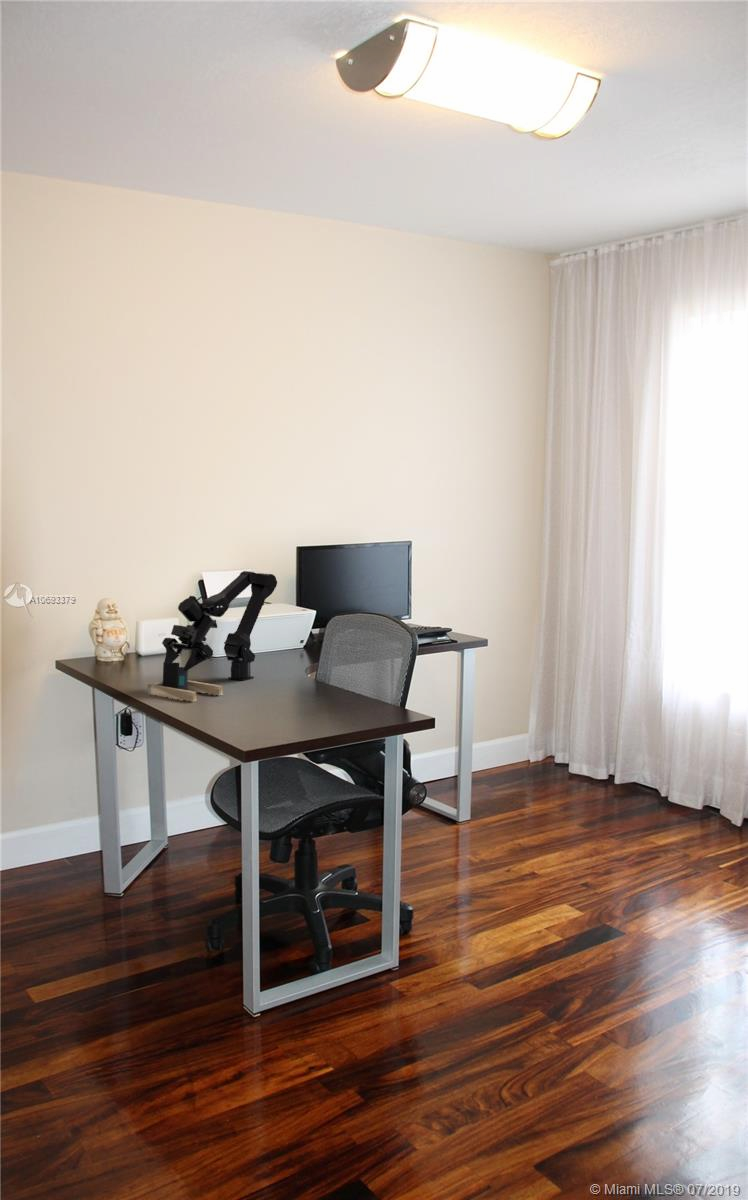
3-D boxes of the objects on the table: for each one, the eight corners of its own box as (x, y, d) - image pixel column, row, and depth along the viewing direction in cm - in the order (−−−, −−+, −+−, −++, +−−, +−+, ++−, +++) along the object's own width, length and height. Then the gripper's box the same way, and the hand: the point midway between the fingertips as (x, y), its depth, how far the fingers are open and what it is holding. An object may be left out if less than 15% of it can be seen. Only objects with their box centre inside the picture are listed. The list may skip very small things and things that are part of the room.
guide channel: (177, 687, 323) (177, 678, 322) (222, 695, 311) (222, 685, 310) (147, 694, 312) (147, 684, 312) (192, 702, 300) (192, 692, 300)
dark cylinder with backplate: (175, 695, 309) (175, 663, 308) (161, 694, 312) (162, 662, 312) (191, 694, 315) (192, 661, 315) (178, 692, 318) (178, 661, 318)
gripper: (165, 613, 321) (140, 651, 313) (206, 617, 310) (181, 656, 303) (183, 633, 328) (159, 671, 321) (223, 638, 318) (200, 677, 310)
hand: (174, 668), depth 313 cm, fingers open, 9 cm apart
